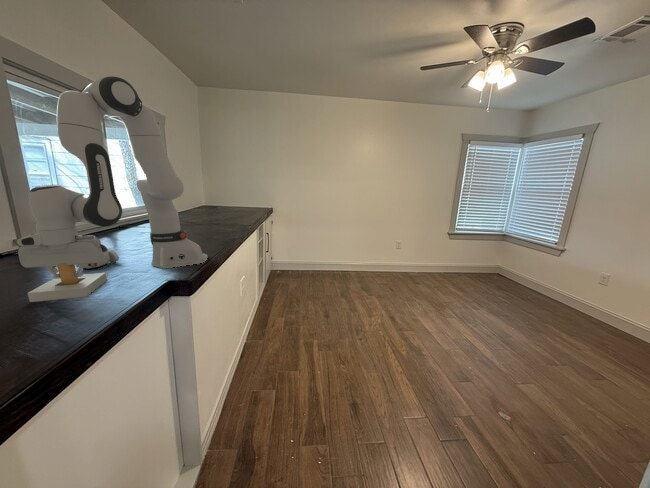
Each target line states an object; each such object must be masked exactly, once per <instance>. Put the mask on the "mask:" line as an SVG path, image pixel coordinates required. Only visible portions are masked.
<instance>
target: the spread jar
mask: <svg viewBox="0 0 650 488" xmlns="http://www.w3.org/2000/svg"><path fill="white" fill-rule="evenodd" d="M98 239H99V238H98ZM99 240H100V244H101V245H100V247H101V249H102V252H103V255H104V259H103V260H102V261H100V262H99V263H90V264H85V266H84V268H83V270H84V271H96V270H100V269H103V268H105V267H107V265H109V263H113V264H114V263H116V262H118V261H119V260H120V257H119V254H118V253H117V252H116V251H114V250H113V249H112V248H111V249H110V248H107V246H105V245H104V244H103V243H102V242H101V238H100V239H99ZM83 270H82V271H83Z"/></svg>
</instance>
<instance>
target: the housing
mask: <svg viewBox="0 0 650 488" xmlns="http://www.w3.org/2000/svg"><path fill="white" fill-rule="evenodd" d="M78 281H79V283H78V284H75V285H64V286H62V282H61V279H60V278H58V279H55V278H54V277H53V278H52V279H50V280H49V281H47V282H45V283H43V284H41V285H40V286H37V287H36V288H34V289H33V290H30V291H28V292H27V297H28V300H29V303H36V302H44V301H45V302H46V301H55V300H66V299H68V300H69V299H75V298H77V299H78V298H87V297H88V296H90V294H92V293H93V292H94V291H95V289H96V290H97V289H98V288H99V287H101V286H102V285H103V284H104V283H106V282H107V281H108V277H107V273H106V272H98V273H97V272H96V273H86V274H84V273H83V276H81V277H78ZM100 285H101V286H100ZM91 292H92V293H91ZM86 296H87V297H86Z"/></svg>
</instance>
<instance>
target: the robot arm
mask: <svg viewBox="0 0 650 488" xmlns="http://www.w3.org/2000/svg"><path fill="white" fill-rule="evenodd" d="M112 117H113V118H114V117H118V118H119V119H120V120H121V122H122V123H123V125H124V127H125V128H126V130H125V131H126V133H127V137H128V141H129V144H130V146H131V147H130V148H131V150H132V153H133V157H134V159H135V160H136V162H138V165H139V166H140V168H141V169H142V172H143V174H142V175H141V176H139V177H138V178H137V181H136V188H137V190H138V191H139V193H140V195H141V198H142V199H141V200H142V202H143V204H144V208H145V209H146V210H145V211H146V213H147V216H148V222H149V227H150V233H149V237H150V243H151V246H152V261H151V266H153V267H155V268H156V267H157V268H160V269H162V270H163V269H164V270H165V269H166V268H167V269H173V267H175V268H180V266H182V267H187V266H186V265H190V266H194V265H193V264H197V265H201V264H200V263H202V264H204V263H206V262H207V261H208V259H209V258H208V257H209V256H208V254H207V253H203V251H202V249H201V246H200V245H199V244H198V243H196V242H194V241H192V240H190V239H188V237H187V231H186V230H182V229H181V224H180V217H179V212H178V210H177V209H176V207H175V205H174V202H173V200H175V199H178V198H180V197H181V196H182V195H183V193H184V189H185V188H184V187H185V185H184V183H183V181H182V179H180V177H179V176H178V175H177V174H176V171H175V170H174V167H173V166H172V164H171V162H170V159H169V157H168V154H167V150H166V147H165V144H164V140H163V137H162V132H161V129H160V126H159V123H158V121H157V118H156V117H155V114H154V112H153V111H152V110H151V108H149V107H147V106H145V105H143V101H142V100H141V98H140V97H139V93H138V92H137V91H136V90H135V88H134V86H133V85H132V84H131V83H130V82H129V81H127V80H126V79H125V78H121V77H119V76H113V75H112V76H105V77H102V78H98V79H96V80H93V81H92V82H91V83H89V84H87V85H85V86H84V87H83V88H82V89H81V91H77V90H66V91H63V92H61V93H60V94H59V96H58V101H57V107H56V127H57V135H58V139H59V141H60V144H61V146H62V147H63V148H64V149H65V150H66V151H67V152H68V153H69V154H71V155H73V156H75V157H76V158H78V159H79V160H80V162H82V164H83V165H84V168H85V171H86V176H87V183H88V187H89V194H86V193H83V192H80V191H79V192H78V191H76V190H73V189H70V188H67V187H65V186H64V185H62V184H54V183H53V184H44V185H43V184H42V185H39V186H34V187H33V188H31V189H30V190H29V191H28V192H29V193H28V202H29V208H30V211H31V212H30V213H31V215H32V217H33V219H34V221H35V231H36V232H35V233H31V234H30V235H27V236H23V237H20V238H18V239H17V240H16V243H17V245H18V247H19V248H18V250H17V251H18V252H17V254H18V258H19V262H20V265H21V266H22V267H24V268H25V269H30V268H42V267H46V270H47V271H48V272H49V273H50V274H52V275H53V279H54V278H55V279H58V278H60V275H59V271H58V267H57V266H58V264H64V263H65V264H66V265H75V268H77V269H76V272H74V275H75V277H81V276H83V274H84V273H83V268H84V266H85V264H90V263H99V262H100V261H102V260H103V259H104V255H103V252H102V249H101V247H100V245H101V244H102V243H101V244H100V241H101V239H100V240H99V238H98V237H96V236H95V235H79V234H78V230H77V225H76V224H77V223H80V222H81V223H85V224H92V225H95V226H98V227H110V226H113V225H116V224H117V223H118V222H119V221H120V219H121V217H122V214H123V207H122V204H121V202H120V201H119V198H118V197H117V194H116V188H115V184H114V183H115V182H114V176H113V171H112V165H111V161H110V157H109V154H108V152H107V149H106V144H105V138H104V137H105V136H104V127H103V123H104V119H105V118H106V119H107V118H112ZM94 236H95V237H94ZM93 238H94V239H93ZM207 258H208V259H207ZM206 260H207V261H206ZM205 261H206V262H205ZM203 262H204V263H203Z"/></svg>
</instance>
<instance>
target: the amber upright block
mask: <svg viewBox="0 0 650 488" xmlns="http://www.w3.org/2000/svg"><path fill="white" fill-rule="evenodd" d="M56 268H57V270H58V271H59V275H60V279H61V282H62V286H64V285H75V284H78V283H79V281H78V277H75V275H74V272H76V271H77V269H76V268H77V267H76V264H75V265H66V264H65V263H64V264H58V266H57V267H56Z"/></svg>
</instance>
